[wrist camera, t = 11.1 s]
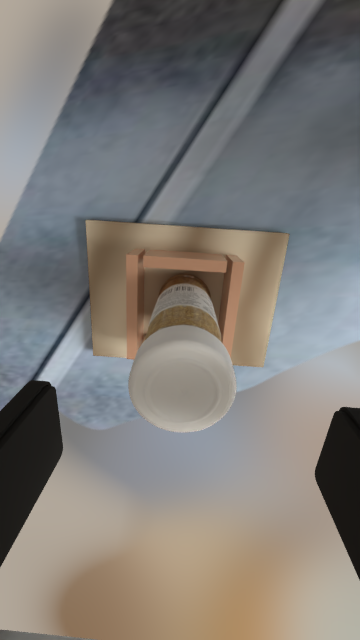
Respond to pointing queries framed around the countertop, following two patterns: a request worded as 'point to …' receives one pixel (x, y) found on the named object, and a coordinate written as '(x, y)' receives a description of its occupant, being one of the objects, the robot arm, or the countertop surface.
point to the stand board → (122, 237)
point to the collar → (180, 261)
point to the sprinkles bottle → (183, 361)
